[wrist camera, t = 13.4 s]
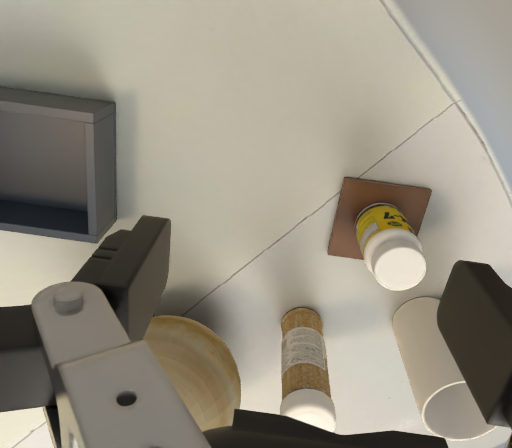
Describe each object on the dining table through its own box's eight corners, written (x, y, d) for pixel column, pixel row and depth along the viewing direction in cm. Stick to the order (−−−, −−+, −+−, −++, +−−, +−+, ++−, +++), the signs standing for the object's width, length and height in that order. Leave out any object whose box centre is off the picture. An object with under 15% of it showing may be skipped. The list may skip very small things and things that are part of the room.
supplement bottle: (415, 217, 41) (445, 262, 33) (383, 254, 43) (405, 305, 35) (374, 191, 40) (395, 232, 33) (343, 230, 42) (356, 277, 34)
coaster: (344, 176, 40) (345, 178, 40) (430, 188, 40) (432, 191, 40) (327, 252, 44) (327, 255, 43) (406, 263, 44) (407, 266, 43)
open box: (-38, 80, 39) (-80, 88, 34) (115, 102, 39) (93, 113, 34) (-20, 201, 43) (-55, 222, 39) (116, 220, 44) (97, 243, 39)
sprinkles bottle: (311, 345, 49) (321, 453, 37) (274, 331, 48) (271, 436, 36) (330, 314, 47) (347, 417, 35) (291, 299, 46) (294, 399, 34)
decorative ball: (135, 396, 54) (84, 524, 40) (97, 293, 47) (23, 403, 34) (256, 386, 52) (246, 517, 38) (233, 279, 46) (213, 389, 32)
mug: (428, 354, 48) (470, 451, 37) (376, 330, 47) (404, 422, 36) (489, 287, 44) (556, 373, 34) (434, 259, 43) (485, 339, 32)
